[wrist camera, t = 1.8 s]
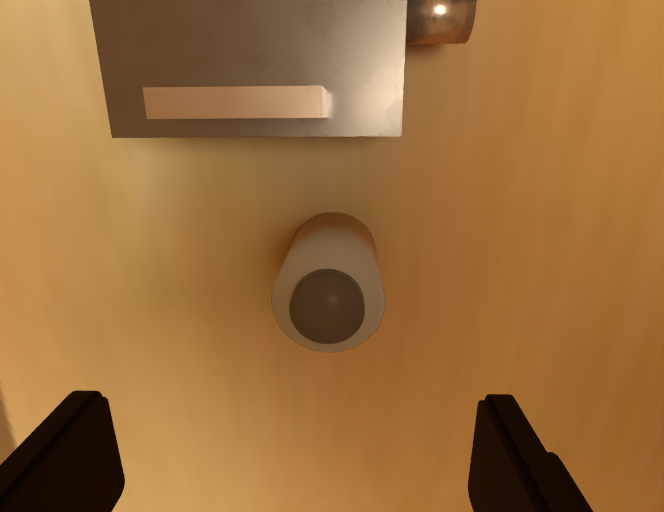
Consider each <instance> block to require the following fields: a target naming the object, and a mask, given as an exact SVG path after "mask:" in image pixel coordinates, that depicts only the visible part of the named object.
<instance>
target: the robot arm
mask: <svg viewBox="0 0 664 512" xmlns="http://www.w3.org/2000/svg"><path fill="white" fill-rule="evenodd" d="M124 484H125V478H124V473H123V468H122V464H121V459H120V454H119V449H118V445H117V440H116V435H115V431H114V426H113V421H112V417H111V412H110V407H109V402H108V399H107V398H106V397H102V394H101V393H100V392H99V391H73V392H72V393H70V394H69V395H68V396H67V397H66V398H65V399H64V400H63V401H62V402H61V403H60V404H59V405H58V406H57V407H56V408H55V410H54V411H53V412H52V413H51V414H50V415H49V416H48V417H47V418H46V419H45V420H44V421H43V422H42V423H41V424H40V425H39V426H38V427H37V428H36V429H35V430H34V431H33V432H32V433H31V434H30V435H29V436H28V437H27V438H26V439H25V440H24V441H23V442H22V443H21V444H20V446H19V447H18V448H17V449H16V450H15V451H14V452H13V453H12V454H11V455H10V456H9V457H8V458H7V459H6V460H5V461H4V462H3V463H2V464H1V465H0V512H112V510H113V508H114V507H115V505H116V503H117V501H118V500H119V498H120V496H121V494H122V492H123V489H124ZM468 493H469V498H470V502H471V505H472V508H473V511H474V512H593V510H592V509H591V507H590V506H589V504H588V503H587V501H586V499H585V498H584V496H583V495H582V493H581V491H580V490H579V488H578V487H577V485H576V483H575V482H574V480H573V479H572V477H571V476H570V474H569V472H568V471H567V469H566V468H565V466H564V464H563V463H562V461H561V460H560V459H559V457H558V456H557V455H556V454H554V453H553V452H546V450H545V448H544V447H543V445H542V443H541V442H540V440H539V438H538V437H537V435H536V433H535V432H534V430H533V428H532V427H531V425H530V423H529V422H528V420H527V418H526V417H525V415H524V413H523V412H522V410H521V408H520V407H519V405H518V403H517V402H516V400H515V398H514V397H513V396H512V395H506V394H488V395H487V396H486V398H485V400H480V401H479V402H478V407H477V415H476V423H475V431H474V439H473V447H472V455H471V463H470V471H469V479H468Z"/></svg>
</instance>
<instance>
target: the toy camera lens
mask: <svg viewBox="0 0 664 512" xmlns="http://www.w3.org/2000/svg"><path fill="white" fill-rule="evenodd" d="M271 303H272V310H273V313H274V316H275V319H276V321H277V323H278V325H279V326H280V328H281V329H282V330H283V332H284V333H285V334H286V335H287V336H288V337H289V338H290V339H292V340H293V341H294V342H296V343H297V344H299V345H301V346H303V347H305V348H307V349H310V350H313V351H318V352H327V353H332V352H341V351H345V350H349V349H351V348H354V347H356V346H358V345H360V344H361V343H363V342H364V341H365V340H367V339H368V338H369V337H370V336H371V335H372V334H373V333H374V331H375V330H376V329H377V327H378V326H379V324H380V322H381V319H382V317H383V313H384V308H385V295H384V290H383V285H382V279H381V274H380V269H379V263H378V258H377V253H376V247H375V243H374V240H373V237H372V235H371V233H370V232H369V230H368V229H367V227H366V226H365V225H364V224H363V223H361V222H360V221H359V220H357V219H356V218H354V217H352V216H350V215H347V214H343V213H337V212H331V213H324V214H320V215H317V216H315V217H313V218H311V219H310V220H308V221H307V222H306V223H305V224H304V225H303V226H302V227H301V228H300V229H299V231H298V232H297V234H296V236H295V239H294V241H293V243H292V245H291V247H290V250H289V252H288V254H287V256H286V258H285V260H284V263H283V265H282V267H281V269H280V271H279V274H278V276H277V278H276V280H275V283H274V286H273V289H272V297H271Z"/></svg>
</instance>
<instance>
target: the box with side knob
mask: <svg viewBox="0 0 664 512" xmlns="http://www.w3.org/2000/svg"><path fill="white" fill-rule="evenodd" d="M476 1H477V0H89V2H90V8H91V14H92V20H93V26H94V32H95V38H96V44H97V50H98V56H99V62H100V68H101V74H102V80H103V86H104V92H105V98H106V104H107V110H108V116H109V122H110V128H111V134H112V138H158V137H350V136H401V129H402V106H403V83H404V60H405V44H465V43H467V41H468V39H469V37H470V35H471V31H472V28H473V23H474V18H475V11H476Z"/></svg>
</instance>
